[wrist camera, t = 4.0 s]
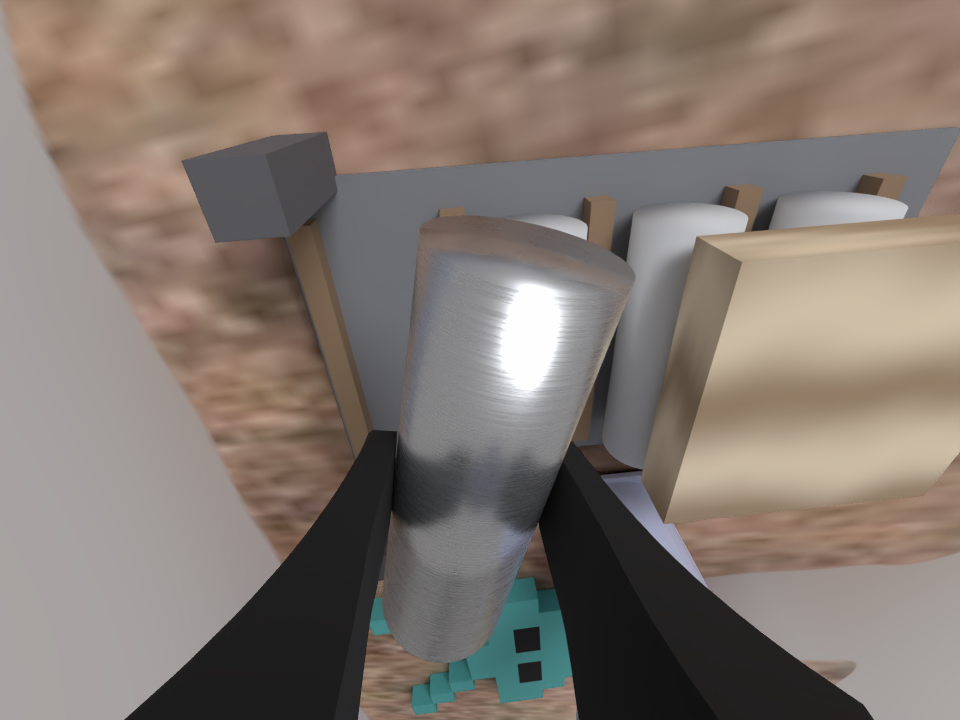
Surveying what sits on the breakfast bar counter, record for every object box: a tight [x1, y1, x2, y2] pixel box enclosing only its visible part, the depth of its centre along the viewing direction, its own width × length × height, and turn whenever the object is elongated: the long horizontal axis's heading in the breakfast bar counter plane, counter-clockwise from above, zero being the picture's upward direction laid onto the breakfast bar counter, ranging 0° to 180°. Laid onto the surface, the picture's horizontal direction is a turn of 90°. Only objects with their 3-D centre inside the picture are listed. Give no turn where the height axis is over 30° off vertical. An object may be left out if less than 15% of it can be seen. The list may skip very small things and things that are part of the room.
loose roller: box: [382, 215, 636, 663], centre depth 11 cm, size 12×4×4 cm, turn 170°
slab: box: [641, 214, 960, 524], centre depth 16 cm, size 12×12×2 cm
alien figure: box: [369, 577, 572, 715], centre depth 39 cm, size 20×2×20 cm
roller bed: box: [182, 127, 960, 581], centre depth 18 cm, size 19×28×6 cm
